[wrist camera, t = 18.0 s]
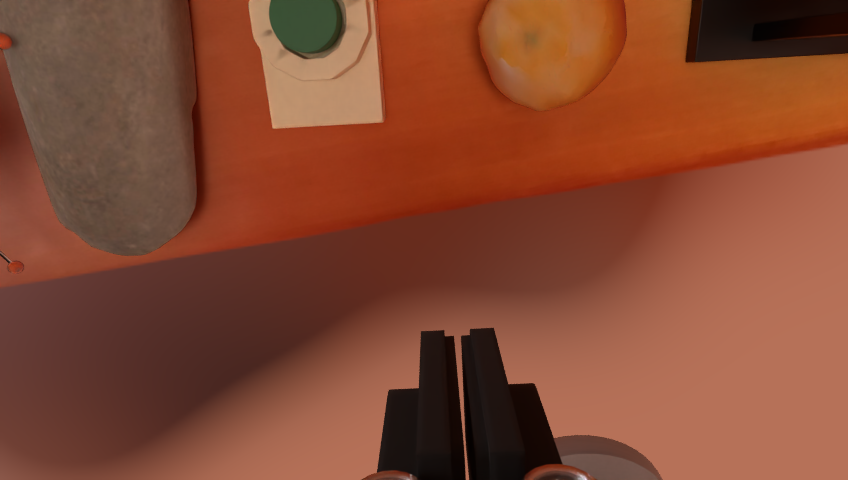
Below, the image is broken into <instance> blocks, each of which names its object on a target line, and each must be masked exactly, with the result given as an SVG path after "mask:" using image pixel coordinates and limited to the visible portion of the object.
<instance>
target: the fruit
mask: <svg viewBox="0 0 848 480" xmlns="http://www.w3.org/2000/svg"><path fill="white" fill-rule="evenodd" d="M478 31H479V37H480V50H481V54H482V56H483V58H484V60H485V62H486V64H487V67H488V70H489V74H490V77H491V80H492V82H493V84H494V85H495V86H496V88H497V89H498V90H499V91H500V92H501V93H502V94H503V95H504V96H506V97H507V98H509V99H510V100H511V101H513V102H514V103H517V104H520V105H523V106H526V107H529V108H531V109H534V110H536V111H548V110H550V109H554V108H559V107H563V106H566V105H569V104H571V103H574V102H576V101H578V100H580V99H581V98H583V97H585V96H586V95H587V94H589V93H590V92H591V91H592V90H593V89H595V88H596V87H597V86H598V85H599V84H600V83H601V82H602V81H603V79H604V78H605V77H606V76H607V75H608V73H609V72H610V71H611V69H612V68H613V66H614V64H615V63H616V61H617V59H618V58H619V56H620V54H621V52H622V49H623V47H624V44H625V41H626V36H627V27H626V11H625V3H624V0H489V1H488V3H487V6H486V8H485V11H484V13H483V16H482V19H481V21H480V24H479V27H478Z"/></svg>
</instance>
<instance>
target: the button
mask: <svg viewBox="0 0 848 480" xmlns="http://www.w3.org/2000/svg"><path fill="white" fill-rule="evenodd" d="M269 19H270V24H271V27H272V29H273V31H274V33H275V35H276V37H277V38H278V39H279V40H280V41H281V42H282V43H283V44H284V45H285V46H286V47H288V48H290V49H292V50H294V51H297V52H302V53H310V54H315V53H320V52H323V51H325V50H327V49H329V48H330V47H331V46H332V45H333V44H334V43H335V42H336V41H337V39H338V37H339V35H340V32H341V28H342V14H341V10H340V7H339V4H338V3H337V1H336V0H271V2H270V6H269Z"/></svg>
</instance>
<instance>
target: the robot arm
mask: <svg viewBox="0 0 848 480" xmlns="http://www.w3.org/2000/svg"><path fill="white" fill-rule="evenodd" d="M461 345H462V367H463V368H462V369H463V392H464V413H465V414H464V416H465V438H466V451H467V460H468V472H469V480H597V479H595V478H594V477H593V476H591V475H590V474H588V473H587V472H585V471H583V470H580V469H578V468H576V467H573V466H568V465H563V464H562V461H561V458H560V455H559V452H558V449H557V447H556V444H555V441H554V438H553V435H552V432H551V429H550V426H549V424H548V420H547V417H546V415H545V412H544V409H543V406H542V403H541V401H540V397H539V394H538V391H537V388H536V386H535V384H533V383H529V384H508V382H507V378H506V374H505V370H504V366H503V362H502V358H501V354H500V350H499V347H498V343H497V339H496V335H495V331H494V328H482V329H470V335H467V336H461ZM419 373H420V375H419V388H416V389H394V390H389V392H388V396H387V404H386V412H385V418H384V425H383V433H382V441H381V448H380V454H379V462H378V469H377V473H374V474H371V475H369V476H367V477H366V478H364V479H362V480H466V478H465V458H464V444H463V432H462V421H461V411H460V399H459V387H458V377H457V365H456V355H455V343H454V336H445V335H444V330H441V331H421V347H420V372H419Z"/></svg>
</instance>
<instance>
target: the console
mask: <svg viewBox="0 0 848 480" xmlns="http://www.w3.org/2000/svg"><path fill="white" fill-rule="evenodd" d="M336 1H337V3H338V4H339V7H340V10H341V14H342V28H341V32H340V35H339V37H338V39H337V41H336V42H335V43H334V44H333V45H332V46H331V47H330V48H329V49H327V50H325V51H323V52H320V53H315V54H310V53H302V52H297V51H294V50H292V49H290V48H288V47H286V46H285V45H284V44H283V43H282V42H281V41H280V40H279V39H278V38H277V37H276V35H275V33H274V31H273V29H272V27H271V24H270V19H269V6H270V2H271V0H250V1H249V4H248V8H249V14H250V20H251V27H252V33H253V38H254V41H255V42H256V44H257V45H258V46H259V48H260V50H261V56H262V63H263V69H264V76H265V82H266V89H267V95H268V102H269V108H270V115H271V121H272V128H273V129H276V128H293V127H311V126H329V125H347V124H365V123H383V122H384V121H385V119H386V113H385V100H384V88H383V75H382V62H381V49H380V37H379V24H378V11H377V0H336Z"/></svg>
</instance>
